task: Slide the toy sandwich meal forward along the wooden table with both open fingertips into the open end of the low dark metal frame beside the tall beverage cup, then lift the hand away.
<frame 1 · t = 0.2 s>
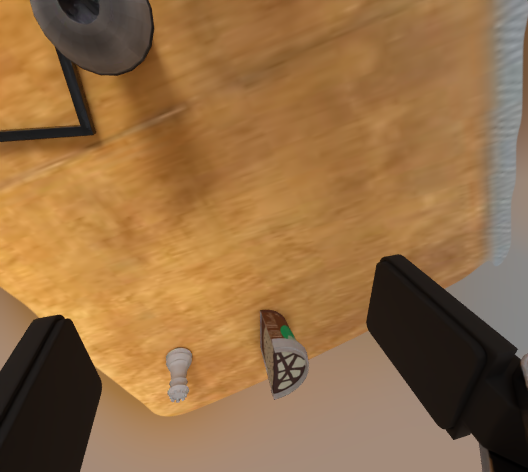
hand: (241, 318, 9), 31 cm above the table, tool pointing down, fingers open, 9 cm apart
rook chess piece: (179, 354, 52), on the table
food container: (276, 326, 54), on the table
beverage cup: (127, 36, 30), on the table
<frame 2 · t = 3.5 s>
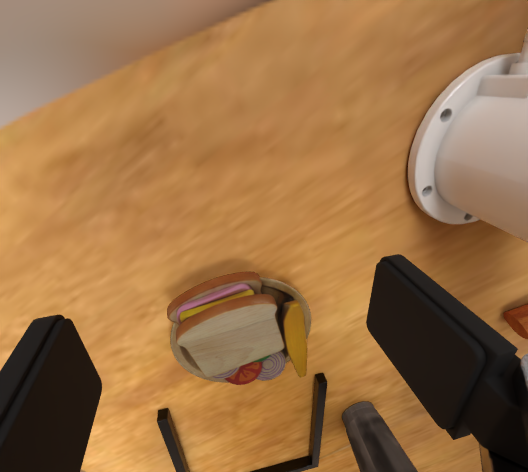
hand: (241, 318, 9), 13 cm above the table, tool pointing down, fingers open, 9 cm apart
frame: (249, 435, 36), on the table
beverage cup: (356, 410, 39), on the table
toy sandwich meal: (236, 321, 27), on the table
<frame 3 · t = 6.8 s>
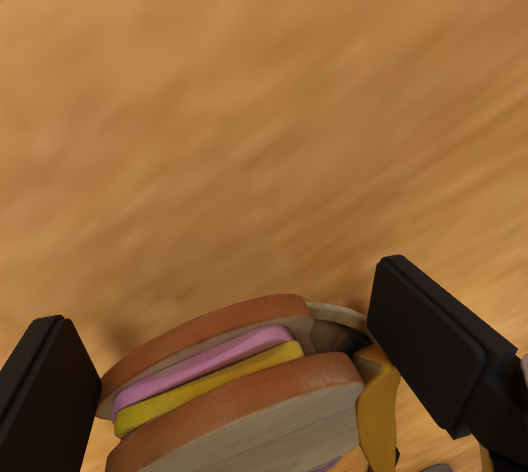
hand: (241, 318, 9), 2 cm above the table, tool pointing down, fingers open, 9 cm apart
toy sandwich meal: (254, 380, 14), on the table, touching gripper
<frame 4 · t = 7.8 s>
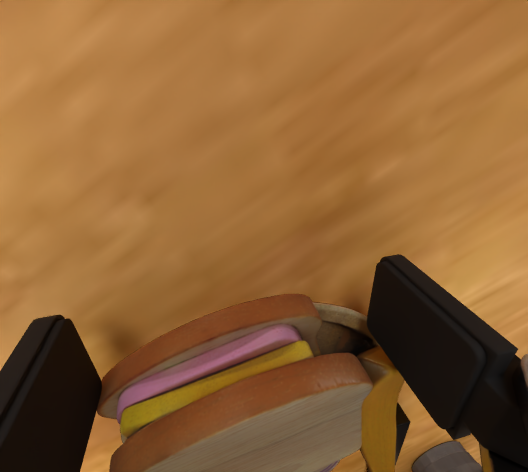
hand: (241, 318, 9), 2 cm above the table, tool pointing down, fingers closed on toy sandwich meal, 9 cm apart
beverage cup: (434, 455, 24), on the table
toy sandwich meal: (255, 381, 14), on the table, touching gripper
when the fingers open (2 cm above the table, at t = 9.0 s): toy sandwich meal stays where it is, on the table.
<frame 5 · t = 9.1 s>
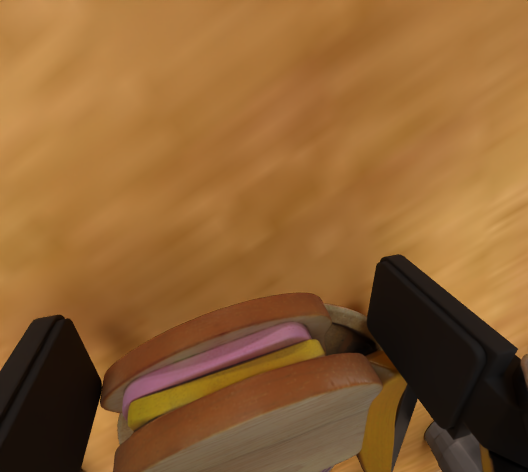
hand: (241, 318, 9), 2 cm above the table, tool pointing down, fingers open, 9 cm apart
beverage cup: (449, 421, 21), on the table
toy sandwich meal: (254, 381, 14), on the table, touching gripper
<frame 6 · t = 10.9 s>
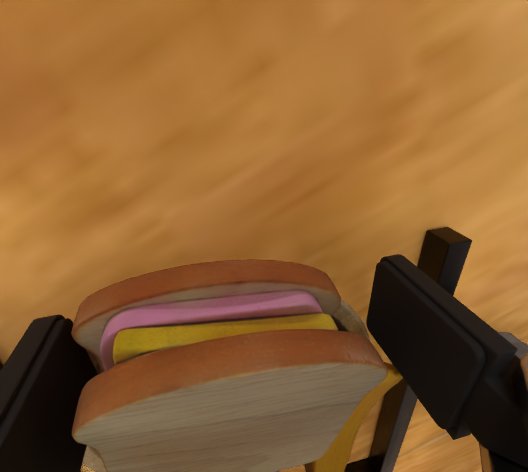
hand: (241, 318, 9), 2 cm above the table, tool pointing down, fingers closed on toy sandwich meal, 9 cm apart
frame: (247, 413, 14), on the table
toy sandwich meal: (221, 366, 13), on the table, touching gripper
when the fingers open (2 cm above the table, at t = 12.1 s): toy sandwich meal stays where it is, on the table.
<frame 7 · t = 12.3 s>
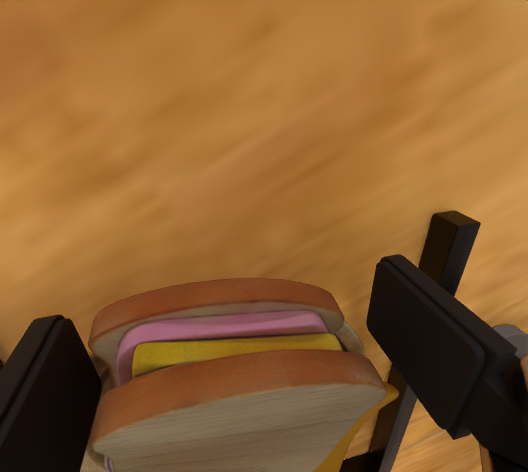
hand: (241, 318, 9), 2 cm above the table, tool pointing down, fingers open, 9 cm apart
frame: (245, 403, 14), on the table
beverage cup: (483, 350, 17), on the table
toy sandwich meal: (219, 376, 13), on the table
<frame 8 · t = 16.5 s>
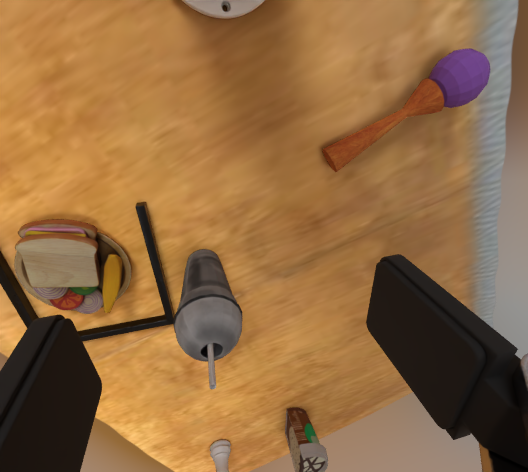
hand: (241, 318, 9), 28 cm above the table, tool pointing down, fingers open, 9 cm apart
purple maraca: (389, 112, 37), on the table
rook chess piece: (219, 443, 63), on the table
frame: (89, 274, 38), on the table
food container: (298, 417, 65), on the table
beverage cup: (203, 262, 41), on the table
toy sandwich meal: (75, 261, 37), on the table
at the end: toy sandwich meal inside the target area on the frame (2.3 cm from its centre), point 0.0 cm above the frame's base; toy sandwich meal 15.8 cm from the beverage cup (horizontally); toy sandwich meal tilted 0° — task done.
